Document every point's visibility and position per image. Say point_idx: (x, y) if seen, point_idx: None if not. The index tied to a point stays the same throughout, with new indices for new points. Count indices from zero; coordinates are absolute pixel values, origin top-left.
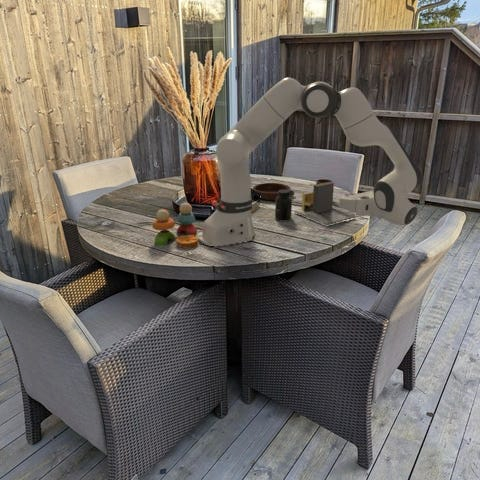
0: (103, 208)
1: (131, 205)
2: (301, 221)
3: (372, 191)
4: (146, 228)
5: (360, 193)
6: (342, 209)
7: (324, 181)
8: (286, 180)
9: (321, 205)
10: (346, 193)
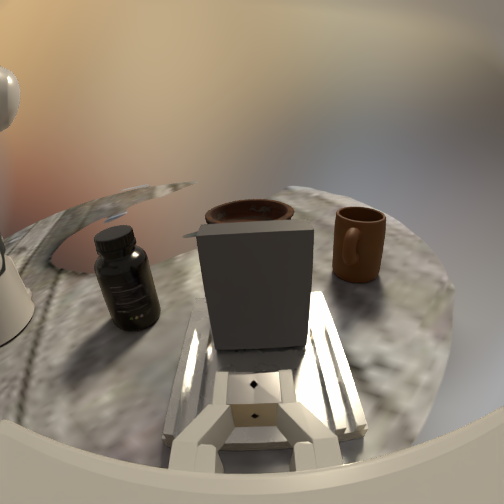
0: (55, 217)
1: (74, 216)
2: (149, 357)
3: (487, 448)
4: None
5: (290, 493)
6: (343, 361)
7: (369, 214)
8: (340, 201)
9: (239, 323)
10: (217, 375)
